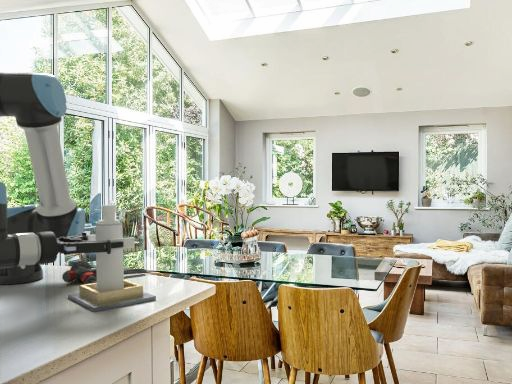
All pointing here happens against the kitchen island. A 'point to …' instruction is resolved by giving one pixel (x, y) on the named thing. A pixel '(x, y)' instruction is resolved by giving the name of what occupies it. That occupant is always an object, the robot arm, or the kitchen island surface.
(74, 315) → the kitchen island surface
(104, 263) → the white bottle
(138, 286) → the flange plate
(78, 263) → the power drill
